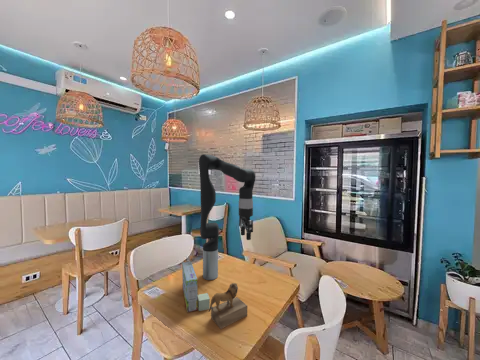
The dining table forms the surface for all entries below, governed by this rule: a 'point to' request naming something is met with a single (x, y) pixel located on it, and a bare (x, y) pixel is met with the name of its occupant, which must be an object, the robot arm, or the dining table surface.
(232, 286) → the lion figurine
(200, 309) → the sage cube
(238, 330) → the dining table surface
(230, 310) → the taupe rectangular block
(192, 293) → the snack box
